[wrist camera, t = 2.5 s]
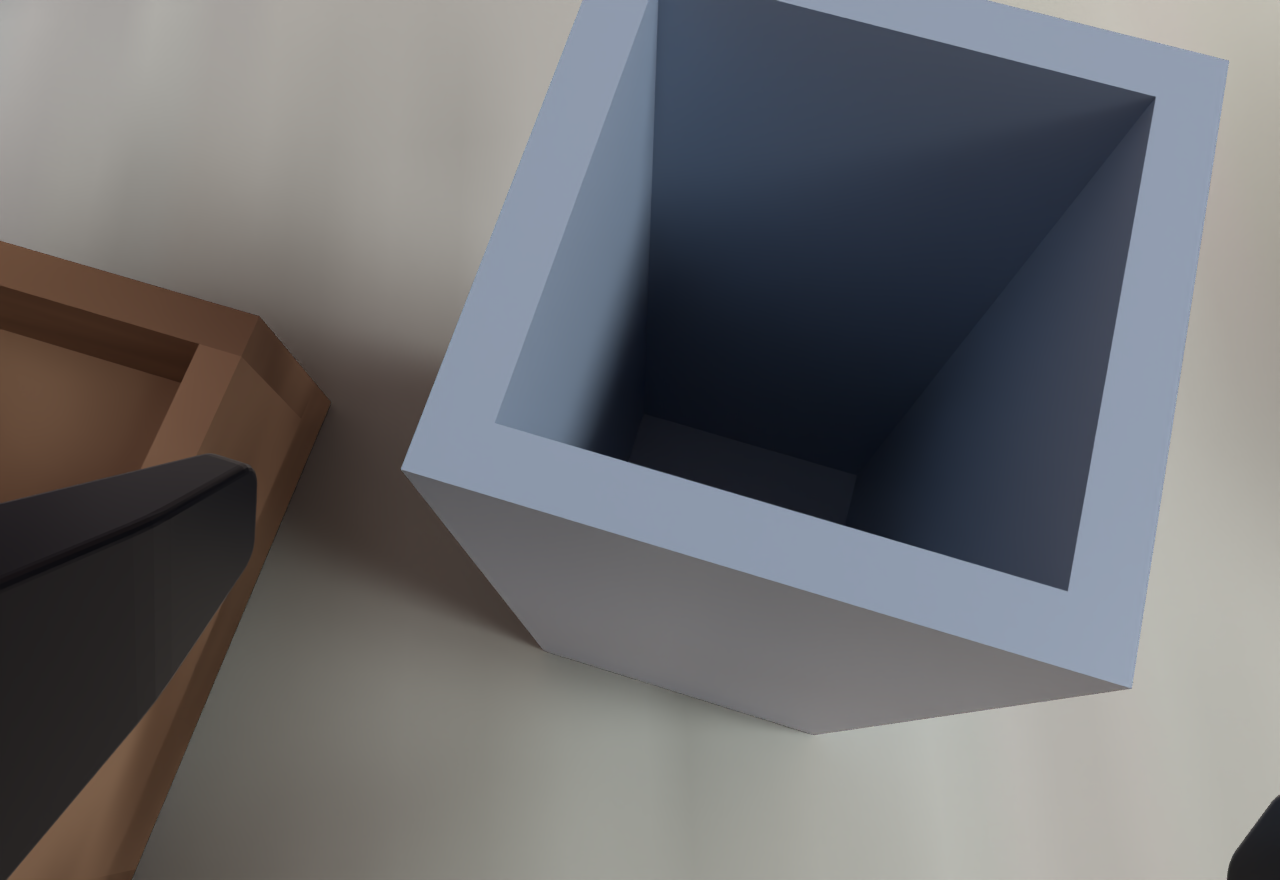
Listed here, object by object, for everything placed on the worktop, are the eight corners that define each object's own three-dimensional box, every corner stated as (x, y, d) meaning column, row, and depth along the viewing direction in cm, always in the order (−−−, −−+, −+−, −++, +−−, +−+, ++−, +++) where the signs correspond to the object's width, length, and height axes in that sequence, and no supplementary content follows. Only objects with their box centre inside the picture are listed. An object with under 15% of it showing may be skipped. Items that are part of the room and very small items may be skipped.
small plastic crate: (814, 734, 18) (1132, 689, 7) (543, 651, 18) (400, 469, 7) (877, 472, 19) (1228, 59, 8) (626, 399, 20) (618, -92, 8)
